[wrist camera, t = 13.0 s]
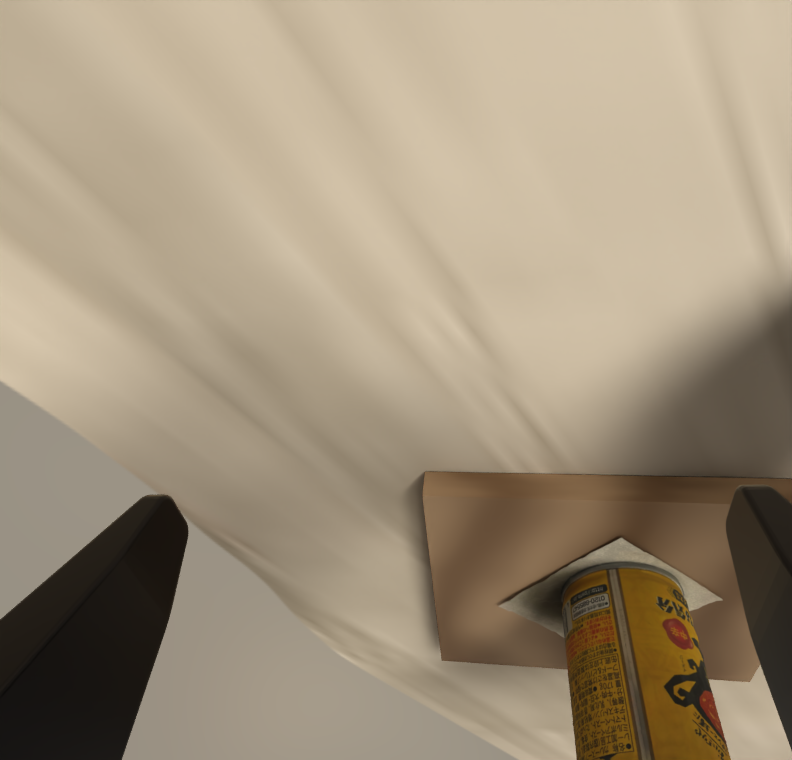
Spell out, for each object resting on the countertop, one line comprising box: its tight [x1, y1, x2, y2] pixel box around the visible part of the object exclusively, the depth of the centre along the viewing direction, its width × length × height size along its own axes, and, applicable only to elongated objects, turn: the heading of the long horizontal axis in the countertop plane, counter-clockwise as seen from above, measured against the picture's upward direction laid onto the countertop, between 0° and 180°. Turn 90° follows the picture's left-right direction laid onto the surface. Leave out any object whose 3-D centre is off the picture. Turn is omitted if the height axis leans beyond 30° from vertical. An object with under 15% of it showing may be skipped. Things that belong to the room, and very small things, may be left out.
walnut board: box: [422, 472, 792, 682], centre depth 32 cm, size 18×16×2 cm
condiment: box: [498, 538, 731, 760], centre depth 27 cm, size 7×8×12 cm
